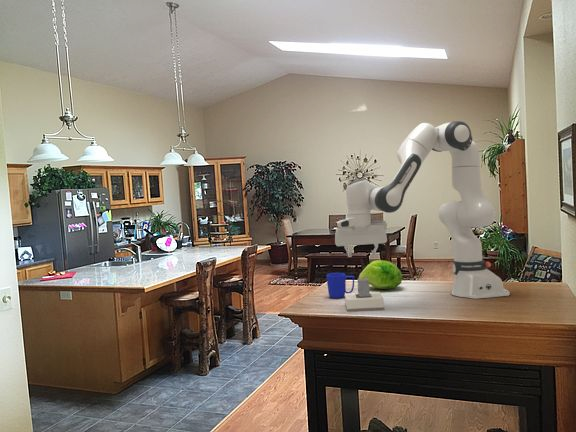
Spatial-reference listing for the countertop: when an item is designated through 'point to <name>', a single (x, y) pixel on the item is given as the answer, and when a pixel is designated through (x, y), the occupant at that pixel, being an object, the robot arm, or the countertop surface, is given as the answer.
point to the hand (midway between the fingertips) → (361, 256)
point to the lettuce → (382, 274)
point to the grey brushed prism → (363, 288)
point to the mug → (337, 284)
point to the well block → (364, 302)
